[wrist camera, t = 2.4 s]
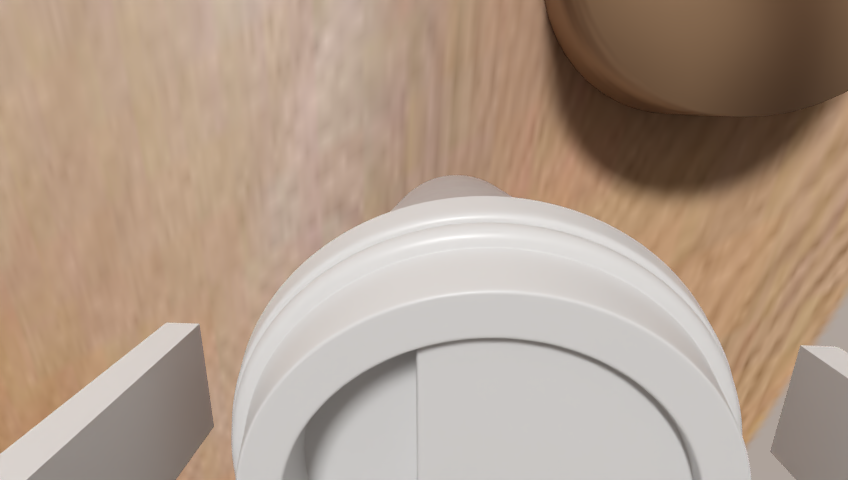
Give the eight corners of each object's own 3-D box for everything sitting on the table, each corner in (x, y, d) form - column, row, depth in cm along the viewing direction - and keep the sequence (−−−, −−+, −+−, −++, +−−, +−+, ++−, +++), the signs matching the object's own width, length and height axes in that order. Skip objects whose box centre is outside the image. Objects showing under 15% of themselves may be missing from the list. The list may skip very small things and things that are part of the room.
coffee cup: (397, 105, 20) (285, 106, 5) (596, 189, 21) (962, 388, 6) (326, 294, 22) (123, 634, 8) (504, 362, 23) (611, 786, 9)
